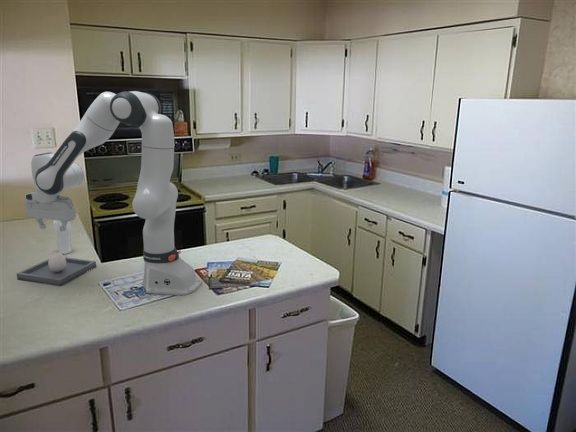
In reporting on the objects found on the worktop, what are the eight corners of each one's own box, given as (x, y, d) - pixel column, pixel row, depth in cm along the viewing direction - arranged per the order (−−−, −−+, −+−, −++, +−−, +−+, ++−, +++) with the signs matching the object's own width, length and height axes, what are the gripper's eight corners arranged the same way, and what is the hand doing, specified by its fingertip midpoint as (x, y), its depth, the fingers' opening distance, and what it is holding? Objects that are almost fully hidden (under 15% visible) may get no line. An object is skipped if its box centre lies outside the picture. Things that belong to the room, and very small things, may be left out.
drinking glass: (67, 255, 194) (63, 223, 190) (53, 254, 195) (49, 222, 191) (77, 250, 200) (73, 219, 196) (64, 249, 202) (60, 218, 198)
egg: (62, 266, 180) (60, 248, 178) (70, 270, 176) (68, 252, 174) (46, 271, 175) (43, 252, 173) (54, 275, 171) (51, 256, 169)
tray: (96, 266, 183) (95, 261, 182) (60, 286, 164) (60, 280, 163) (56, 261, 188) (55, 255, 187) (17, 279, 169) (16, 273, 168)
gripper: (77, 195, 168) (81, 229, 171) (33, 191, 173) (38, 225, 176) (65, 199, 162) (69, 234, 165) (20, 195, 167) (25, 229, 170)
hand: (53, 229), depth 171 cm, fingers open, 8 cm apart
